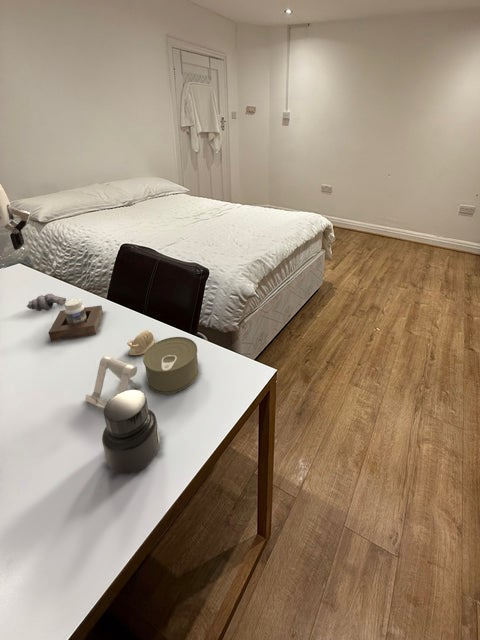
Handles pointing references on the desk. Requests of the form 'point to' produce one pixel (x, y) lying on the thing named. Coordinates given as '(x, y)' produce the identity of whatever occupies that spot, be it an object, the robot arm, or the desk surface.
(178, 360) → the can
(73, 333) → the holder
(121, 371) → the tablet stand
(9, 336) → the desk surface
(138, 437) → the ink bottle
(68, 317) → the pill bottle
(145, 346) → the decorative ornament
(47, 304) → the seashell
